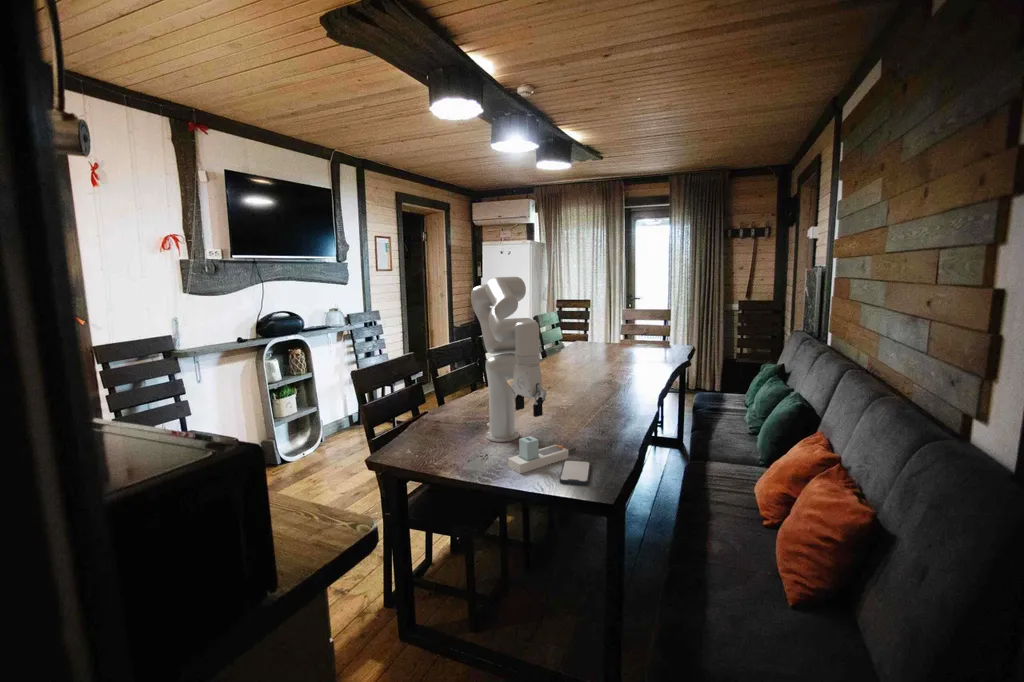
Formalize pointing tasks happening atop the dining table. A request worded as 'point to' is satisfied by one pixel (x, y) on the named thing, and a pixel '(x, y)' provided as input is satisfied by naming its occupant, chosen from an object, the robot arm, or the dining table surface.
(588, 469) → the smartphone
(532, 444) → the block
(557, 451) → the power strip
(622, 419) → the dining table surface
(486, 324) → the robot arm
